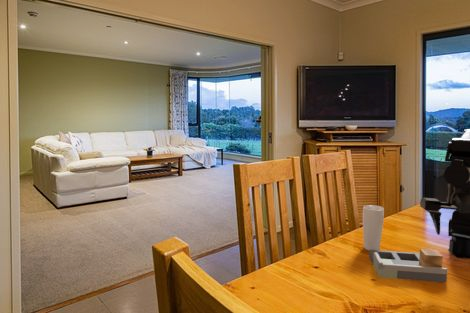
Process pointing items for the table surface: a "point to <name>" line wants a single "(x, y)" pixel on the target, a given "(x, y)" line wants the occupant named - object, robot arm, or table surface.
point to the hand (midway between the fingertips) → (456, 236)
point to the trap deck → (404, 266)
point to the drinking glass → (372, 226)
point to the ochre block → (430, 258)
